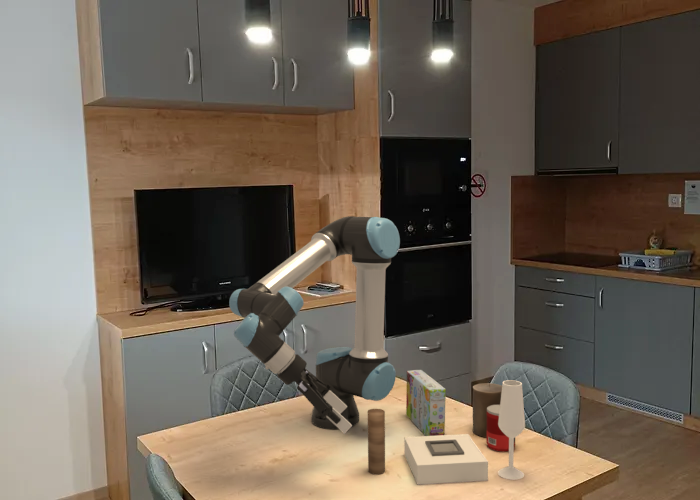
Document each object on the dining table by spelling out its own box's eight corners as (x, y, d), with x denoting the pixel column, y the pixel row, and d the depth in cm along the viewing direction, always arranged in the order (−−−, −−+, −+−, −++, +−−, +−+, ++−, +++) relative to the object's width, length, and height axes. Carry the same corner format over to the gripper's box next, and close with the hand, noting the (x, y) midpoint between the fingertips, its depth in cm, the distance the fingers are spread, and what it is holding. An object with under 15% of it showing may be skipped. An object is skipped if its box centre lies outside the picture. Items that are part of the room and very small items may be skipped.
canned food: (515, 453, 181) (516, 414, 179) (486, 451, 182) (486, 413, 181) (514, 442, 188) (515, 405, 187) (486, 440, 190) (486, 403, 189)
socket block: (404, 454, 181) (404, 435, 180) (468, 451, 182) (468, 431, 182) (417, 484, 163) (417, 463, 162) (487, 480, 164) (488, 459, 164)
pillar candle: (506, 439, 190) (507, 389, 189) (472, 437, 192) (472, 387, 191) (504, 427, 200) (505, 379, 198) (471, 425, 202) (472, 377, 200)
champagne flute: (523, 469, 171) (525, 379, 168) (524, 480, 164) (526, 388, 162) (497, 467, 172) (498, 378, 170) (497, 478, 166) (498, 386, 163)
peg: (367, 467, 173) (366, 408, 171) (383, 466, 173) (383, 408, 171) (369, 474, 168) (368, 414, 167) (386, 474, 169) (385, 414, 167)
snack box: (446, 438, 192) (446, 388, 190) (428, 440, 190) (428, 390, 189) (421, 413, 212) (421, 368, 211) (404, 415, 211) (404, 369, 209)
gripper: (276, 361, 177) (332, 412, 180) (274, 390, 152) (339, 449, 155) (296, 341, 177) (351, 393, 180) (297, 367, 152) (361, 427, 155)
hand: (345, 419), depth 168 cm, fingers open, 13 cm apart
